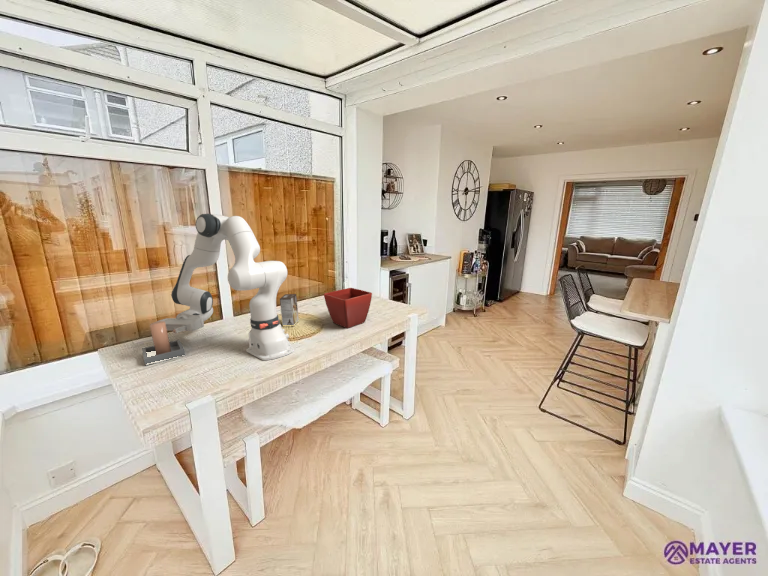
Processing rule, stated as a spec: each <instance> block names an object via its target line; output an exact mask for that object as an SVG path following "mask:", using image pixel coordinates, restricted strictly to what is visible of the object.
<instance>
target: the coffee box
mask: <svg viewBox="0 0 768 576" xmlns="http://www.w3.org/2000/svg"><path fill="white" fill-rule="evenodd" d="M279 303H280V314H281V323H282V326H283V325H294V324H295V323H296V322H297V321H298V320H299V321H300V319H299V310H298V309H299V307H298V299H297V293H291V294H290V293H287V294H286V293H285V294H284V295H283V296H281V297H280V298H279ZM299 321H298V322H299Z"/></svg>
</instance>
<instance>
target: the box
mask: <svg viewBox="0 0 768 576" xmlns="http://www.w3.org/2000/svg"><path fill="white" fill-rule="evenodd" d="M169 343H170V347H171V352H167V353H163V354H159V355H155V356H151V357H147V353H146V352H151V351H155V347H154V345H151V346H150V345H149V346H146V347H145V346H144V347H143V348H141V352H142V355H143V360H144V365H145V364H147V363H151V362H155V361H160V360H164V359H169V358H173V357H177V356H182V355H185V356H186V352H185V351H186V350H185V348H184V346H183V344H182V342H181V340H180V339H177V340H171V341H169ZM182 357H183V356H182Z"/></svg>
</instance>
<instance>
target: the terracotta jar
mask: <svg viewBox="0 0 768 576" xmlns="http://www.w3.org/2000/svg"><path fill="white" fill-rule="evenodd" d="M158 321H159V320H158ZM149 328H150V333H151V337H152V341H153V346H154V347H155V351H156V355H159V354H163V353H167V352H171V347H170V343H169V342H170V340H169V334H168V331H167V328H166V323H165V321H159V322H157V321H154V322H151V323H149Z"/></svg>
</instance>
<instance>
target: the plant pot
mask: <svg viewBox="0 0 768 576" xmlns="http://www.w3.org/2000/svg"><path fill="white" fill-rule="evenodd" d="M323 297H324V298H323V299H324V301H325V305H326V307H327V311H328V314H329V316H330V319H331V321H332V322H333V324H335V325H338V326H340V327H343V328H347V329H348V328H352V327H355V326H358V325H361V324H364V323H366V320H367V318H368V313H369V311H370V307H371V303H372V297H373V292H370V291H367V290H362V289H358V288H354V287H348V288H343V289H338V290H334V291H329V292H325V293H323Z"/></svg>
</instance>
